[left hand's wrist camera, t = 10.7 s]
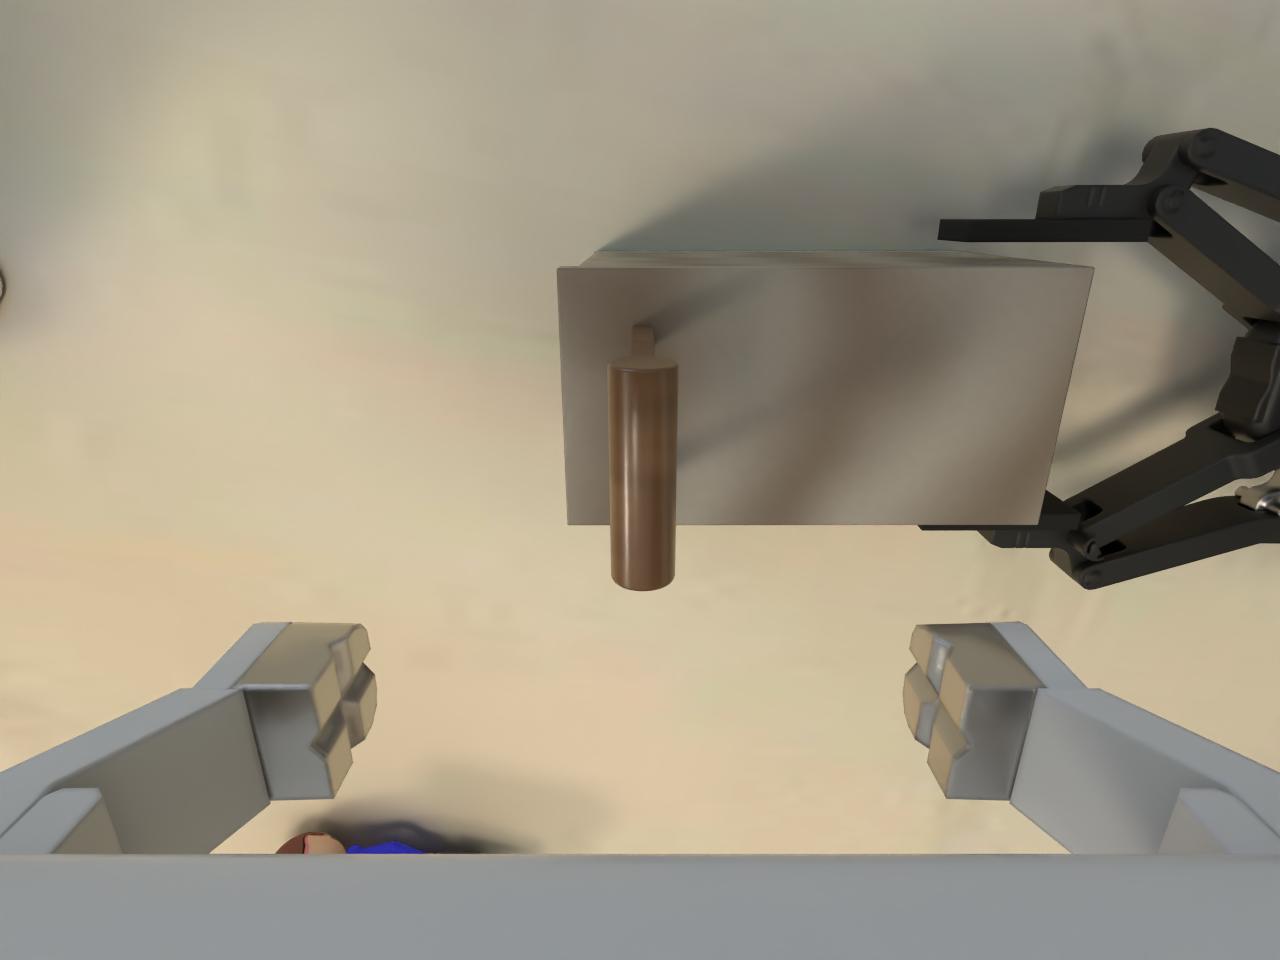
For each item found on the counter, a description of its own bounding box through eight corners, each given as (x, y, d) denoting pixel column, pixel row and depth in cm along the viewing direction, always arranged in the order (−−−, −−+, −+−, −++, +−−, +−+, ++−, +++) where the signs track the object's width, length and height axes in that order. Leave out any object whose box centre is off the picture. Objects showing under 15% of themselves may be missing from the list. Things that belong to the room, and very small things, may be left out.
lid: (569, 515, 27) (538, 647, 19) (559, 266, 24) (515, 293, 16) (1026, 515, 27) (1194, 648, 19) (1079, 265, 24) (1312, 292, 15)
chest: (599, 438, 37) (585, 515, 27) (595, 251, 33) (577, 265, 24) (927, 438, 36) (1025, 515, 27) (955, 250, 33) (1078, 264, 24)
